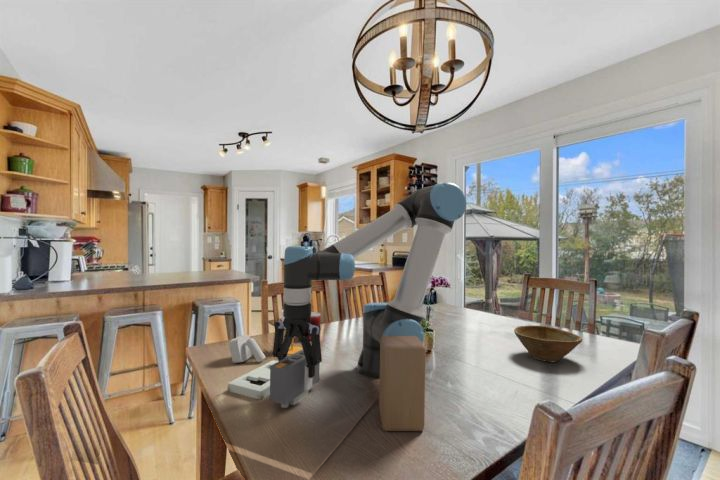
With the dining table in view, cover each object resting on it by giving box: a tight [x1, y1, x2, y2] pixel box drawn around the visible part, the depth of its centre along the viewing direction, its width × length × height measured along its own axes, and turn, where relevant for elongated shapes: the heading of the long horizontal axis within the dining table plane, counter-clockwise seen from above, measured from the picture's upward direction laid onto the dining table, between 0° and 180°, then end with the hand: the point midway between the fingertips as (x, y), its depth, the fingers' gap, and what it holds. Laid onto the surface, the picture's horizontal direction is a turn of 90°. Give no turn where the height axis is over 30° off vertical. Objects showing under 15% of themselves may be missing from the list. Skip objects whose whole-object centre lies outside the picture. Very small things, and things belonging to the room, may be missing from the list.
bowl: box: [513, 324, 583, 362], centre depth 129 cm, size 22×23×10 cm
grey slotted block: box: [269, 349, 321, 409], centre depth 93 cm, size 5×16×12 cm, turn 156°
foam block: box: [289, 390, 310, 406], centre depth 93 cm, size 4×7×3 cm, turn 156°
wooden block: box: [378, 336, 427, 432], centre depth 83 cm, size 10×10×20 cm
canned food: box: [303, 311, 321, 342], centre depth 149 cm, size 8×8×11 cm
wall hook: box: [228, 334, 267, 364], centre depth 121 cm, size 8×10×10 cm
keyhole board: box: [227, 359, 279, 401], centre depth 103 cm, size 12×20×3 cm, turn 156°
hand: (296, 385), depth 93 cm, fingers open, 7 cm apart
